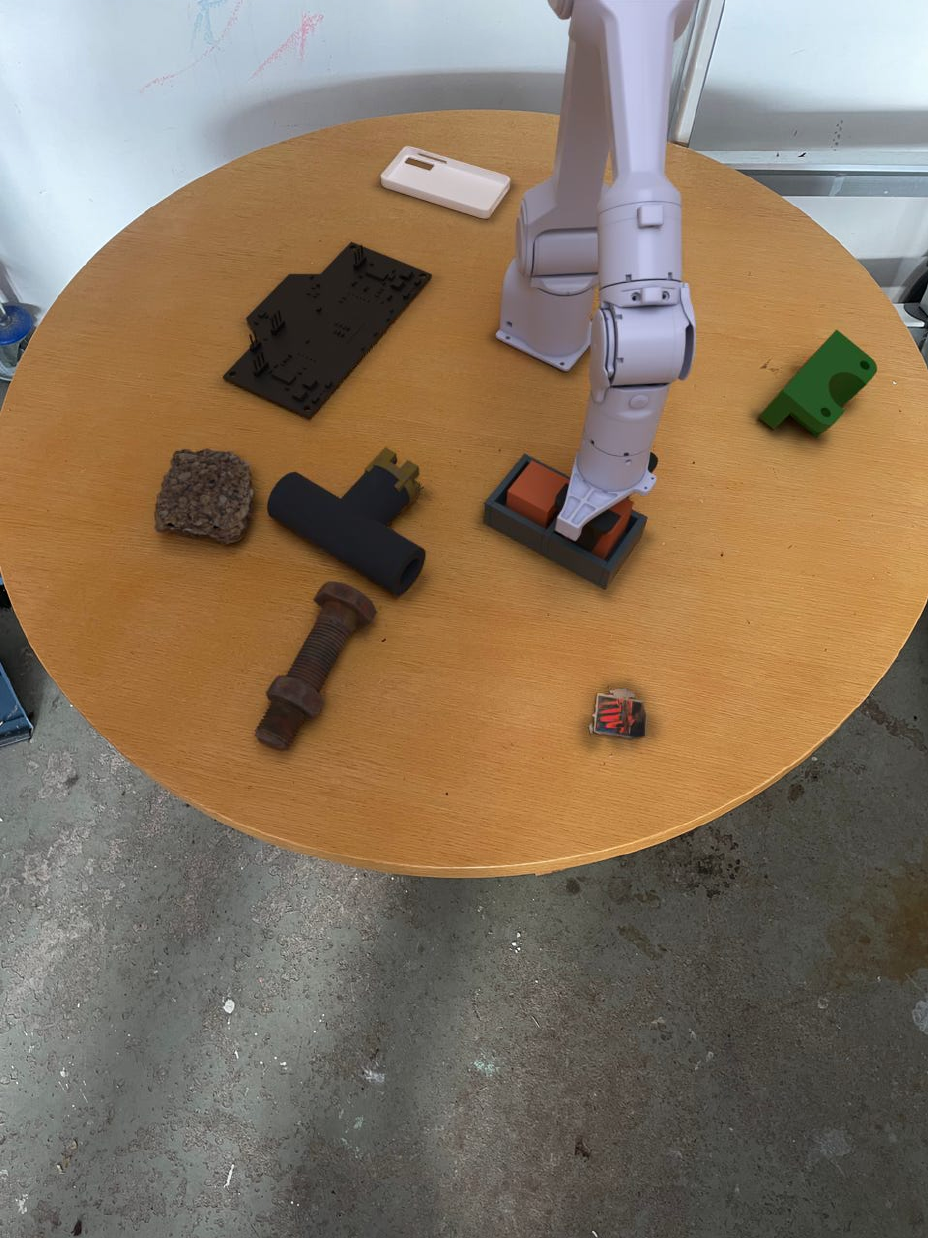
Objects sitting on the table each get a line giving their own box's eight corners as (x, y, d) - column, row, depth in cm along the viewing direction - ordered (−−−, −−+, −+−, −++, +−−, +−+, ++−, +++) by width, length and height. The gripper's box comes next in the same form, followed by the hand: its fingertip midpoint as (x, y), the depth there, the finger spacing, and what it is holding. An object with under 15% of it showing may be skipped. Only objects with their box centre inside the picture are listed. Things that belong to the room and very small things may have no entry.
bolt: (270, 755, 75) (347, 613, 81) (310, 765, 72) (387, 617, 78) (227, 723, 71) (311, 576, 77) (267, 732, 68) (352, 579, 74)
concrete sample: (245, 564, 83) (233, 534, 78) (144, 547, 83) (126, 517, 79) (279, 470, 88) (269, 437, 84) (184, 455, 89) (169, 422, 84)
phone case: (379, 186, 110) (487, 220, 107) (378, 176, 108) (487, 210, 105) (406, 154, 113) (511, 186, 110) (405, 143, 112) (512, 176, 109)
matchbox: (650, 737, 74) (651, 735, 74) (591, 743, 74) (592, 741, 74) (639, 687, 77) (640, 685, 76) (582, 693, 76) (583, 691, 76)
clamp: (789, 463, 94) (817, 443, 85) (747, 427, 95) (770, 404, 86) (864, 380, 94) (899, 351, 85) (821, 344, 94) (852, 312, 85)
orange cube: (505, 518, 85) (507, 490, 81) (528, 488, 87) (531, 459, 83) (543, 539, 84) (547, 512, 80) (566, 508, 85) (571, 480, 81)
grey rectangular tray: (483, 523, 85) (484, 502, 82) (522, 474, 88) (524, 452, 85) (605, 590, 81) (610, 571, 78) (641, 537, 84) (648, 516, 81)
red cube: (562, 540, 82) (567, 512, 78) (585, 508, 84) (592, 479, 80) (603, 562, 81) (610, 534, 77) (625, 529, 82) (634, 501, 79)
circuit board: (310, 421, 91) (305, 401, 88) (201, 370, 94) (194, 349, 92) (431, 279, 101) (431, 257, 99) (330, 238, 105) (327, 216, 102)
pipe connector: (340, 417, 84) (465, 489, 80) (346, 451, 89) (466, 521, 85) (261, 496, 80) (390, 576, 76) (273, 528, 85) (395, 605, 81)
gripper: (620, 513, 65) (594, 603, 77) (705, 393, 71) (669, 493, 83) (539, 471, 67) (527, 565, 79) (629, 357, 73) (605, 461, 85)
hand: (595, 526), depth 81 cm, fingers closed on red cube, 4 cm apart
